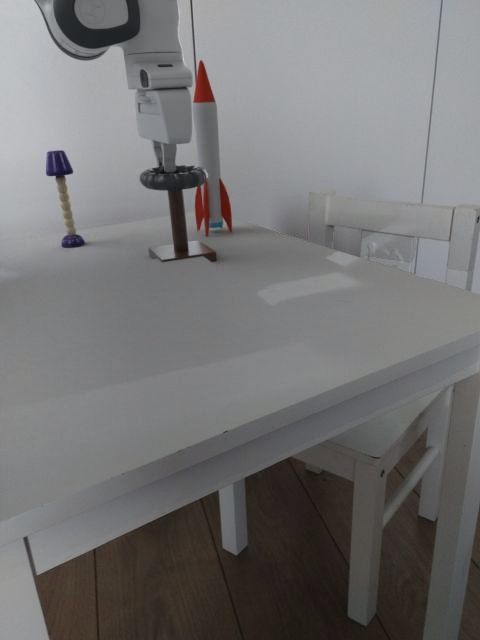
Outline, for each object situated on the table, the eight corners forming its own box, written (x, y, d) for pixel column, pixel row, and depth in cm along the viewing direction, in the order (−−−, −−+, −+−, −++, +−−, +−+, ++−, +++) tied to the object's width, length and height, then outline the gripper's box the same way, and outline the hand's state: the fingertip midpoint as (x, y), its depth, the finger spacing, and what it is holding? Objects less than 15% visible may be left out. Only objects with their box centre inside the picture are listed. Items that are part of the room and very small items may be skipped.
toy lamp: (54, 245, 107) (36, 151, 100) (75, 240, 110) (58, 149, 103) (71, 248, 104) (53, 152, 97) (91, 242, 108) (75, 149, 101)
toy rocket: (233, 232, 110) (223, 58, 98) (206, 236, 108) (192, 59, 95) (222, 227, 115) (211, 60, 102) (196, 231, 113) (181, 61, 100)
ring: (150, 194, 84) (148, 177, 83) (135, 183, 93) (133, 168, 91) (216, 187, 87) (215, 170, 86) (196, 176, 96) (195, 162, 95)
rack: (163, 269, 90) (152, 180, 84) (149, 256, 97) (138, 174, 91) (216, 260, 93) (210, 174, 87) (199, 248, 100) (192, 168, 95)
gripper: (121, 78, 94) (133, 166, 100) (151, 74, 77) (163, 179, 83) (159, 77, 96) (168, 162, 102) (196, 72, 79) (205, 175, 85)
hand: (166, 170), depth 92 cm, fingers closed on ring, 2 cm apart
